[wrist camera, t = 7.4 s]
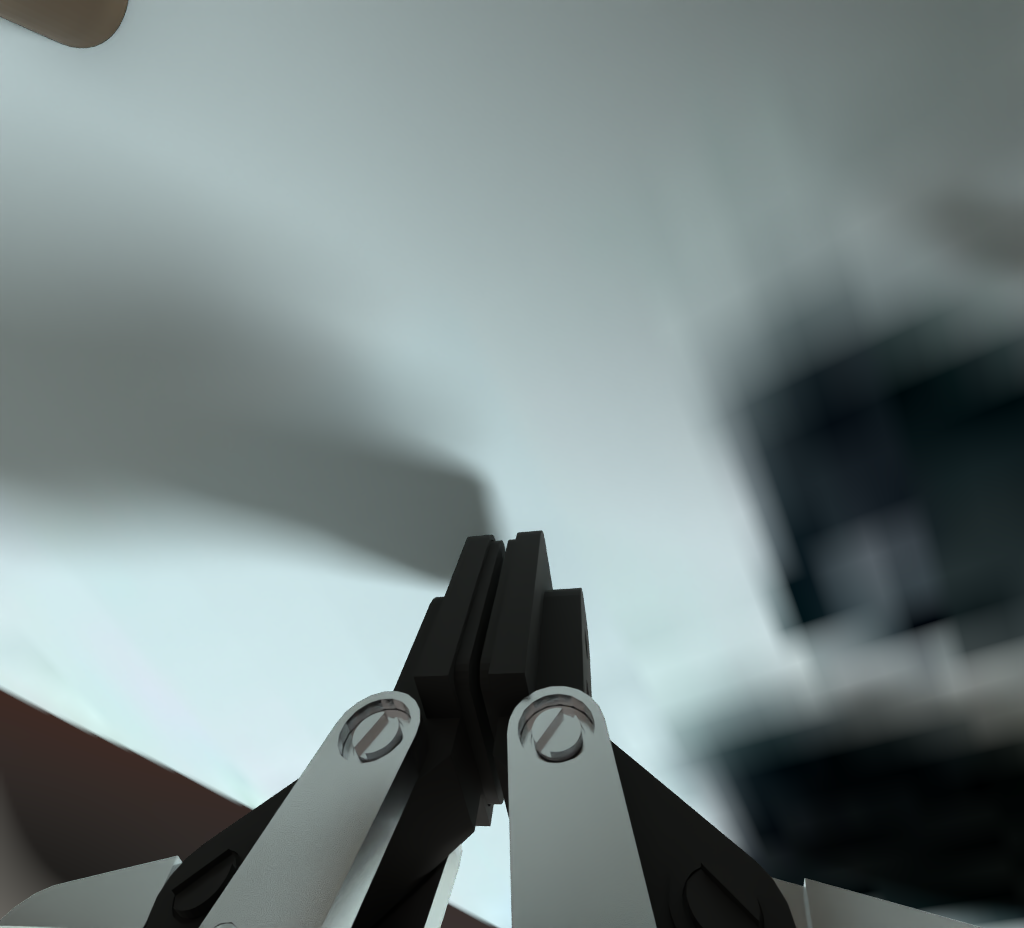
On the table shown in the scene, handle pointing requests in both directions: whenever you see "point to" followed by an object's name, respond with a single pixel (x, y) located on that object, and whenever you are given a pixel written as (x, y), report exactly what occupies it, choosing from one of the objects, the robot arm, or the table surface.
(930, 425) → the table surface
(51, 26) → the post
